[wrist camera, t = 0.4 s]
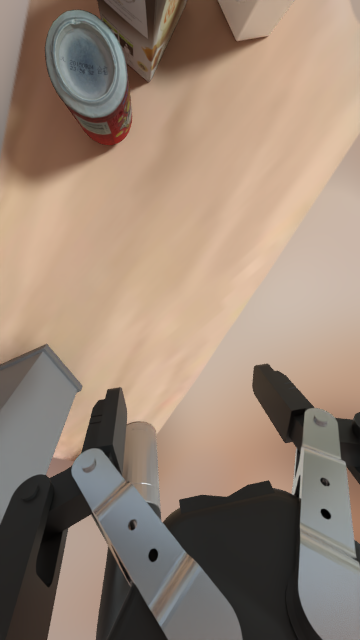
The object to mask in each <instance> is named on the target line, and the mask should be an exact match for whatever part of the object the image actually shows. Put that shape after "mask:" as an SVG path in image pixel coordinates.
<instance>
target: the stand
mask: <svg viewBox="0 0 360 640" xmlns="http://www.w3.org/2000/svg"><path fill="white" fill-rule="evenodd" d="M81 389H82V385H81V384H80V382H79V381H78V380H77V379H76V378H75V377H74V375H73V374H72V373H71V372H70V371H69V369H68V368H67V367H66V366H65V365H64V364H63V362H62V361H61V360H60V359H59V358H58V356H57V355H56V354H55V353H54V352H53V351H52V349H51V348H50V347H49V346H48V345H47V344H46V345H43V346H41V347H39V348H37V349H34V350H32V351H30V352H28V353H25V354H23V355H21V356H19V357H16V358H14V359H12V360H10V361H7V362H5V363H3V364H1V365H0V524H1V521H2V519H3V516H4V514H5V512H6V509H7V507H8V504H9V502H10V499H11V497H12V495H13V493H14V492H15V490H16V489H17V488H18V487H19V486H20V485H21V484H22V483H23V482H24V481H25V480H27V479H28V478H30V477H32V476H35V475H38V474H43V475H46V473H47V470H48V468H49V465H50V462H51V460H52V457H53V454H54V451H55V449H56V446H57V443H58V441H59V438H60V435H61V433H62V430H63V427H64V425H65V422H66V419H67V416H68V414H69V411H70V408H71V406H72V403H73V400H74V398H75V395H76V393H77V392H79V391H81Z"/></svg>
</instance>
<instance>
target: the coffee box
mask: <svg viewBox="0 0 360 640" xmlns="http://www.w3.org/2000/svg"><path fill="white" fill-rule="evenodd" d="M97 1H98V6H99V10H100V16H101V20H102V21H103V22H105V23H106V24H107V25H108V26H109V28H110V29H111V30H112V31H113V33H114V34H115V36H116V38H117V39H118V41H119V43H120V45H121V48H122V50H123V53H124V56H125V59H126V63H127V64H128V65H129V66H130V67H132V68H133V69H134V70H135V71H136V72H137V73H138V74H140V75H141V76H142V77H143V78H144V79H145V80H147V81H148V82H149V81H151V79H152V77H153V74H154V72H155V70H156V68H157V66H158V64H159V62H160V59H161V57H162V55H163V53H164V51H165V48H166V46H167V44H168V42H169V40H170V38H171V36H172V33H173V31H174V29H175V27H176V25H177V23H178V21H179V18H180V16H181V14H182V12H183V10H184V8H185V5H186V2H187V0H97Z"/></svg>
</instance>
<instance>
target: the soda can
mask: <svg viewBox="0 0 360 640" xmlns="http://www.w3.org/2000/svg"><path fill="white" fill-rule="evenodd" d="M45 57H46V65H47V70H48V74H49V77H50V79H51V82H52V84H53V87H54V88H55V90H56V92H57V93H58V95H59V97H60V98H61V100H62V101H63V102H64V103H65V105H66V106H67V107H68V109H69V110H70V112H71V113H72V114H73V116H74V117H75V119H76V120H77V121H78V123H79V124H80V126H81V127H82V128H83V130H84V131H85V132H86V133H87V135H88V136H89V137H90V138H92V139H93V140H95V141H96V142H98V143H100V144H104V145H113V144H117V143H119V142H121V141H122V140H123V139H124V138H125V137H126V136H127V134H128V132H129V130H130V127H131V123H132V107H131V97H130V89H129V80H128V71H127V64H126V59H125V56H124V53H123V50H122V48H121V45H120V43H119V41H118V39H117V38H116V36H115V34H114V33H113V31H112V30H111V29H110V28H109V26H108V25H107V24H106V23H105V22H103V21H102V20H100V19H99V18H98V17H97V16H95V15H93V14H92V13H89V12H87V11H84V10H71V11H67V12H65V13H63V14H62V15H60V16H59V17H58V18H57V20H55V21H54V22H53V24H52V26H51V28H50V30H49V32H48V35H47V39H46V45H45Z"/></svg>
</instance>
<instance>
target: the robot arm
mask: <svg viewBox="0 0 360 640" xmlns="http://www.w3.org/2000/svg"><path fill="white" fill-rule="evenodd" d="M252 386H253V391H254V394H255V396H256V398H257V399H258V401H259V402H260V404H261V405H262V407H263V409H264V410H265V412H266V414H267V415H268V417H269V418H270V420H271V422H272V423H273V425H274V426H275V428H276V430H277V431H278V432H279V434H280V436H281V438H282V439H283V441H284V442H285V443H289V442H293V443H294V444H295V446H296V447H297V449H296V457H295V469H294V480H293V488H292V494H290V493H288V492H286V491H283V490H279V489H275V488H272V486H271V484H270V482H269V481H264V482H260V483H255V484H250V485H247V486H245V487H243V488H242V489H240V490H238V491H237V492H235V493H233V494H232V495H230V496H228V497H221V496H209V495H199V496H194V497H190V498H185V499H180V500H179V502H180V508H179V509H177V510H175V511H174V512H173V513H172V514H170V515H169V516H168V517H167V518H166V520H165V521H164V522H161V512H160V494H159V478H158V460H157V442H156V430H155V428H154V427H153V426H152V425H150V424H148V423H145V422H135V423H131V424H129V425H127V408H126V404H125V400H124V395H123V391H122V388H121V387H119V388H113V389H108V390H107V394H106V398H105V399H104V400H99V401H98V402H97V403H96V405H95V406H94V407H93V410H92V414H91V418H90V422H89V425H88V429H87V433H86V437H85V441H84V445H83V449H82V452H81V454H80V455H79V456H78V457H77V458H76V460H75V461H74V463H73V465H72V466H71V467H70V468H68V469H67V470H65V471H63V472H61V473H59V474H57V475H55V476H53V477H51V478H48V477H47V476H46V475H43V474H38V475H35V476H32V477H30V478H28V479H27V480H25V481H24V482H23V483H22V484H21V485H20V486H19V487H18V488H17V489H16V490H15V492H14V493H13V495H12V497H11V499H10V502H9V504H8V507H7V509H6V512H5V514H4V516H3V519H2V521H1V524H0V640H47V637H48V632H49V626H50V621H51V616H52V611H53V606H54V600H55V595H56V589H57V585H58V580H59V574H60V569H61V564H62V558H63V553H64V548H65V542H66V537H67V532H68V528H69V527H70V526H72V525H74V524H75V523H77V522H79V521H80V520H82V519H84V518H86V517H87V516H89V515H92V517H93V519H94V521H95V522H96V525H97V526H98V528H99V530H100V532H101V533H102V535H103V537H104V539H105V541H106V542H107V544H108V553H107V561H106V568H105V575H104V582H103V589H102V595H101V602H100V609H99V616H98V624H97V633H96V640H360V544H359V543H358V542H357V541H355V540H354V534H353V525H352V516H351V506H350V497H349V487H348V478H347V469H346V467H347V468H348V469H349V471H350V472H351V473H352V475H353V476H354V477H355V479H356V480H357V481H358V483H359V484H360V412H359V413H357V414H355V416H354V419H353V420H350V419H340V418H334V417H333V416H332V415H331V414H330V413H328V412H327V411H325V410H322V409H318V408H314V407H313V405H312V404H311V403H310V402H309V401H308V400H307V399H306V398H305V397H304V395H303V394H302V393H301V392H300V391H299V390H298V389H297V388H296V387H295V385H294V384H293V383H292V382H291V381H290V380H289V379H288V377H287V376H286V375H284V374H282V373H281V372H279V371H274V370H273V369H272V368H271V367H270V365H268V364H262V365H256V366H254V374H253V385H252ZM126 425H127V426H126Z"/></svg>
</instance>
